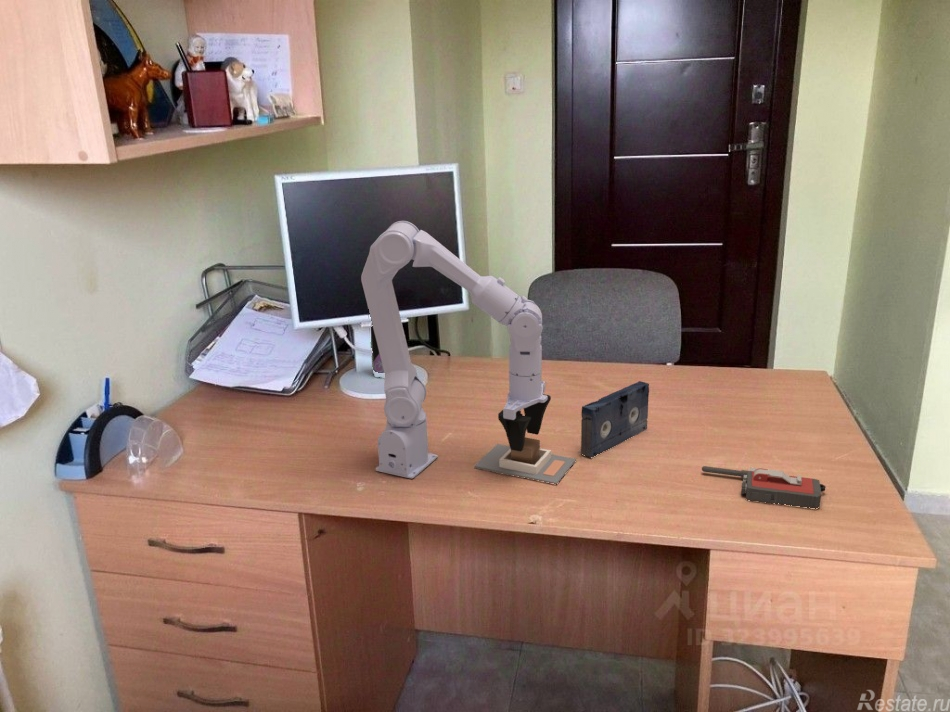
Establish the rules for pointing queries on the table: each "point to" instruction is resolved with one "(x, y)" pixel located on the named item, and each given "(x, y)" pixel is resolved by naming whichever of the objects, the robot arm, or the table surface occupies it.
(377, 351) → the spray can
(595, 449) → the vhs cassette tape
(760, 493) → the walkie-talkie
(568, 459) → the pocket board
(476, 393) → the table surface
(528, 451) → the walnut block
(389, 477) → the table surface
